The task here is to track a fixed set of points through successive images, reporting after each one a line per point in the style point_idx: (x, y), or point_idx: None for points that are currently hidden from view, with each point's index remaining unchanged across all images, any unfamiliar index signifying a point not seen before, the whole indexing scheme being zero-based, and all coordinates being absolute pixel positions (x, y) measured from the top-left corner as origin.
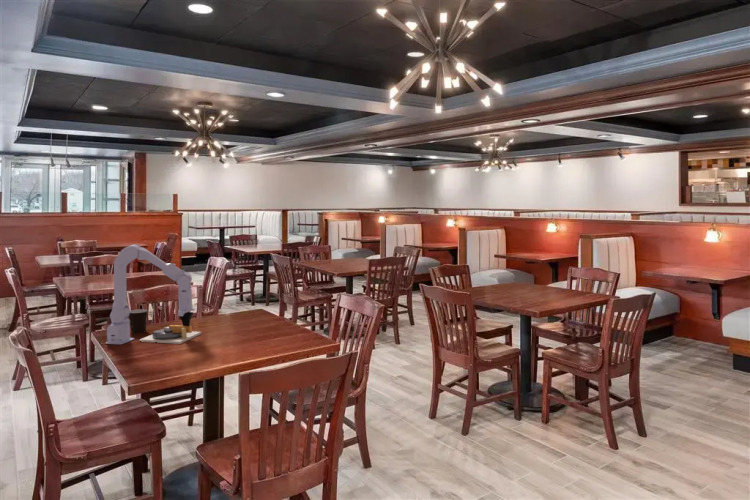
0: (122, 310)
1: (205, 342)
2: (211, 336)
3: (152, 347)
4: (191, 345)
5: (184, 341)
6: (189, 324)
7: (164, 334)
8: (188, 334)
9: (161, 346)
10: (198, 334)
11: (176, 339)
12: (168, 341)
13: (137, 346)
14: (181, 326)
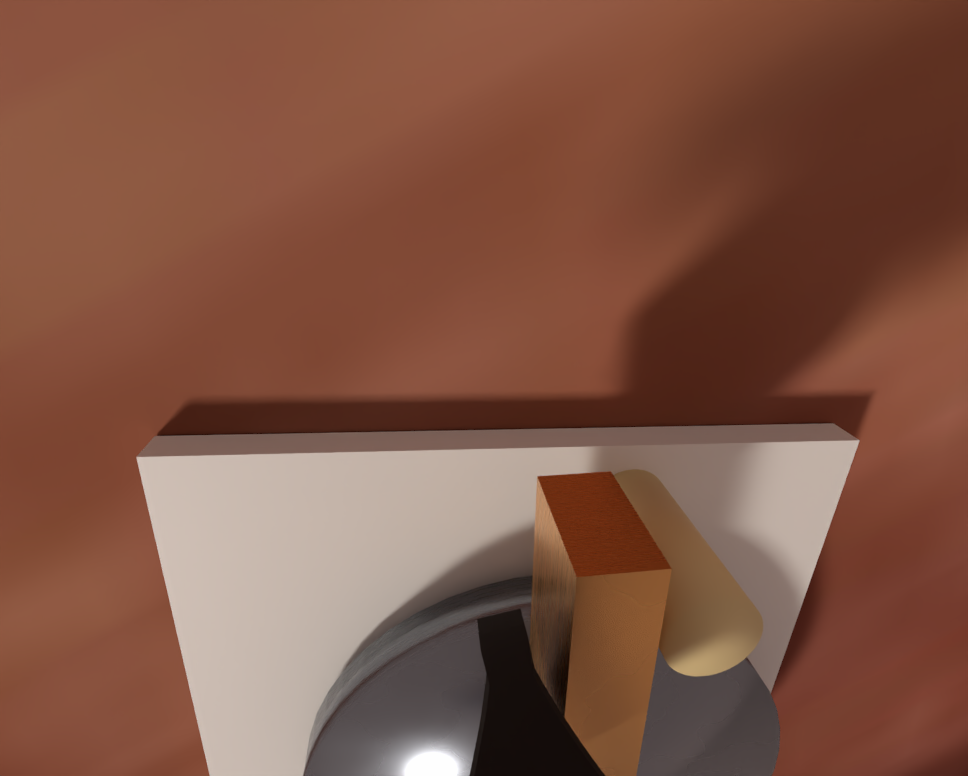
0: None
1: (772, 2)
2: (268, 115)
3: (946, 632)
4: (952, 193)
5: (722, 427)
6: (496, 680)
7: (712, 761)
8: (395, 559)
9: (921, 573)
10: (257, 441)
11: (721, 556)
12: (797, 598)
13: (876, 766)
14: (641, 735)
